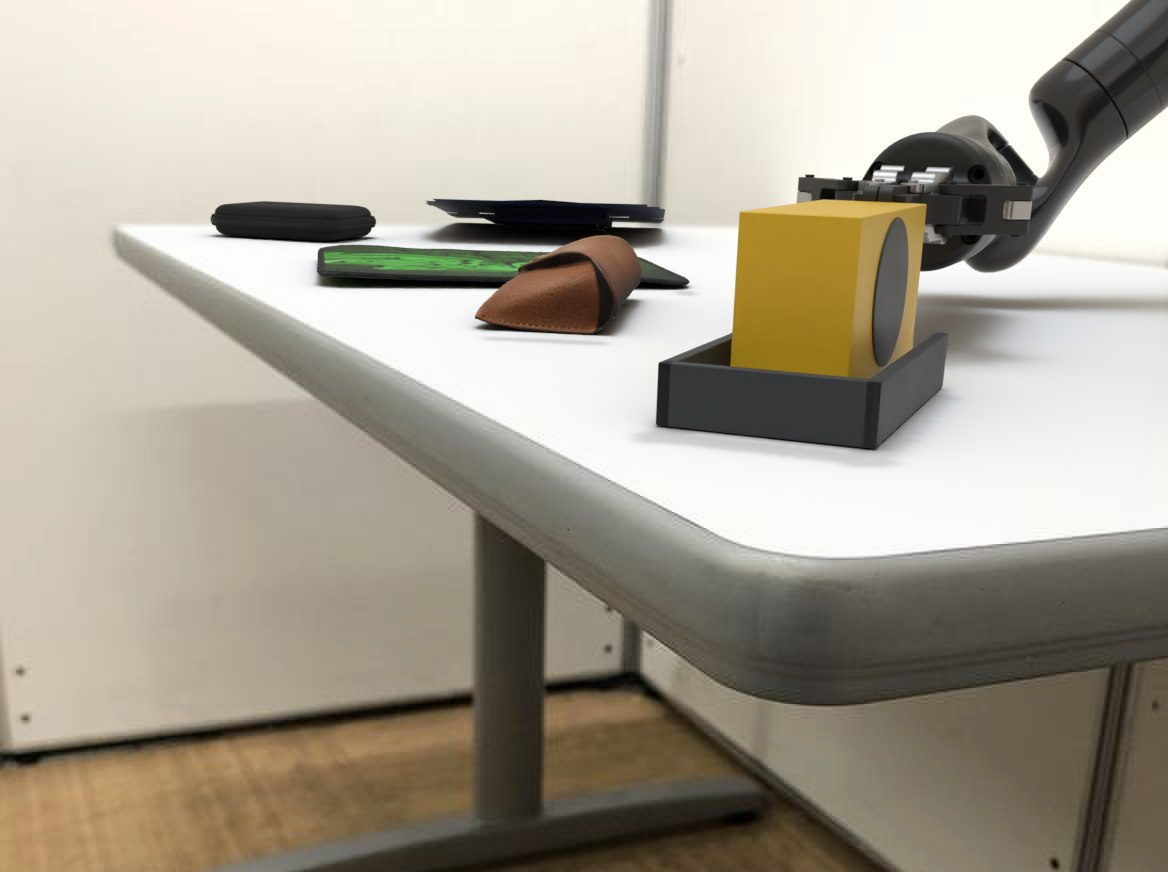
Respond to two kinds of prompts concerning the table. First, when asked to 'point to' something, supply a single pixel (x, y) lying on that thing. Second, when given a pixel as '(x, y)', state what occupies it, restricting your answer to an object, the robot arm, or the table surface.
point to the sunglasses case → (568, 288)
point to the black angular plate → (550, 213)
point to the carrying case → (293, 220)
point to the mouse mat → (445, 264)
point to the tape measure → (827, 286)
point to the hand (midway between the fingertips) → (875, 210)
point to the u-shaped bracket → (795, 396)
